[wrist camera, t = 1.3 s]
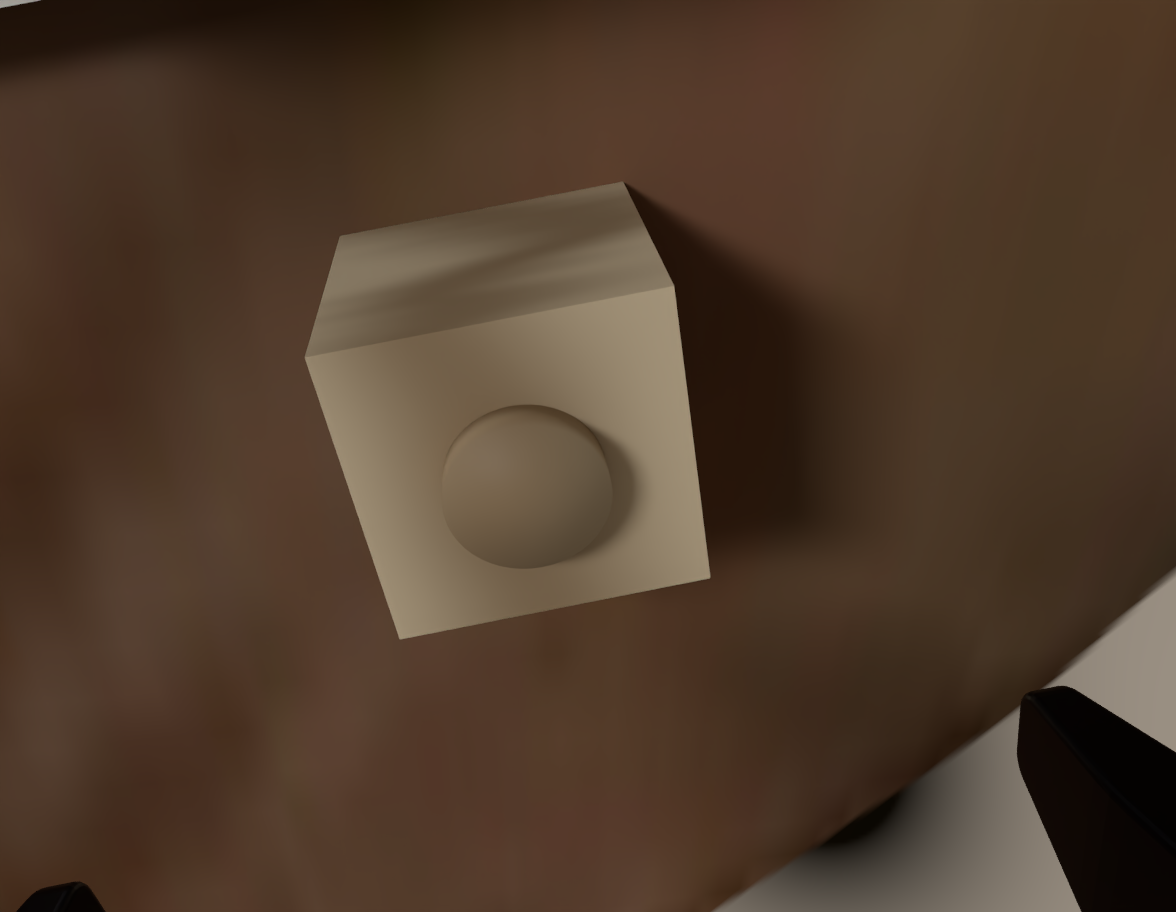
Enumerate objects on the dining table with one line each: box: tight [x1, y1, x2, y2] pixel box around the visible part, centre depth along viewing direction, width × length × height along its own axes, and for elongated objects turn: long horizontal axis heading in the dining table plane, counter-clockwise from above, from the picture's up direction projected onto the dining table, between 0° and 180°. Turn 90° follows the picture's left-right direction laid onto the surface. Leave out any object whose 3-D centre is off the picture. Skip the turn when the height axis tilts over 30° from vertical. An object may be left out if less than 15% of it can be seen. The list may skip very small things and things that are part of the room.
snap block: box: [305, 182, 710, 639], centre depth 17 cm, size 5×5×6 cm
